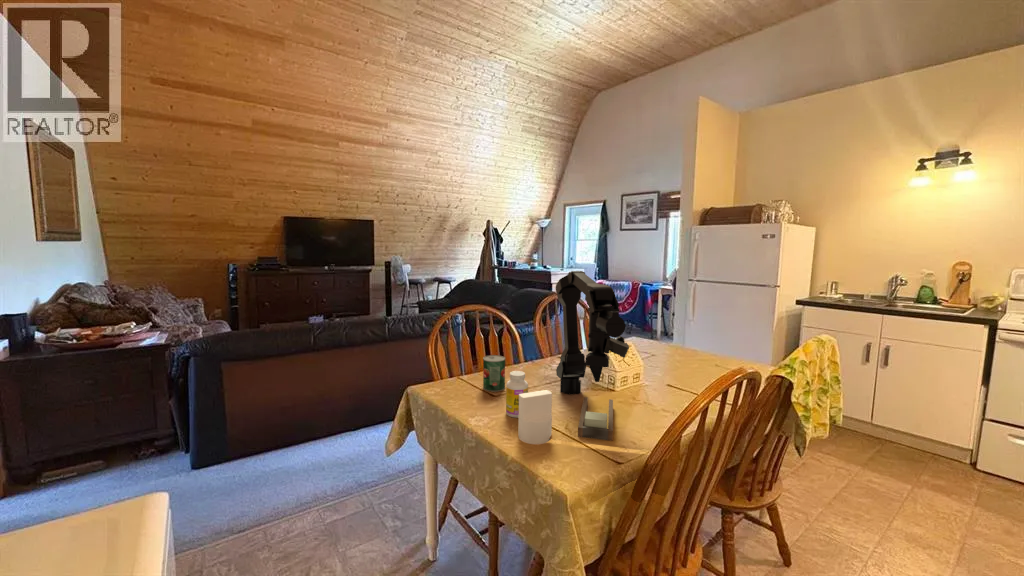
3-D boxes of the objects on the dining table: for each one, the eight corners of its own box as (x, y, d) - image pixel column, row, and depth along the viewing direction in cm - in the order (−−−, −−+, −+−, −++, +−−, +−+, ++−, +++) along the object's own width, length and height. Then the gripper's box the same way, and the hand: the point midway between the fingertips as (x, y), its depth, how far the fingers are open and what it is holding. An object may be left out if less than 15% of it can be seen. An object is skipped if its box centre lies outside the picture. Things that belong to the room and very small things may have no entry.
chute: (577, 439, 112) (578, 427, 111) (583, 407, 133) (583, 396, 133) (612, 443, 110) (612, 431, 109) (612, 410, 131) (612, 399, 131)
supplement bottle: (512, 420, 124) (512, 378, 122) (502, 411, 129) (502, 371, 128) (531, 415, 127) (532, 374, 125) (521, 408, 132) (521, 368, 131)
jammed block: (584, 434, 113) (584, 418, 112) (585, 426, 118) (585, 411, 117) (606, 436, 112) (606, 420, 111) (606, 429, 116) (607, 413, 116)
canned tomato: (509, 389, 149) (509, 359, 148) (490, 393, 145) (490, 362, 144) (497, 382, 156) (497, 353, 154) (479, 386, 151) (479, 357, 150)
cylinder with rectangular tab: (527, 446, 108) (527, 402, 106) (513, 432, 116) (513, 390, 114) (557, 440, 111) (558, 397, 110) (541, 426, 119) (542, 386, 118)
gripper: (629, 338, 110) (626, 395, 112) (626, 324, 128) (624, 374, 130) (586, 335, 113) (584, 391, 114) (589, 322, 131) (588, 371, 132)
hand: (597, 381), depth 123 cm, fingers closed
